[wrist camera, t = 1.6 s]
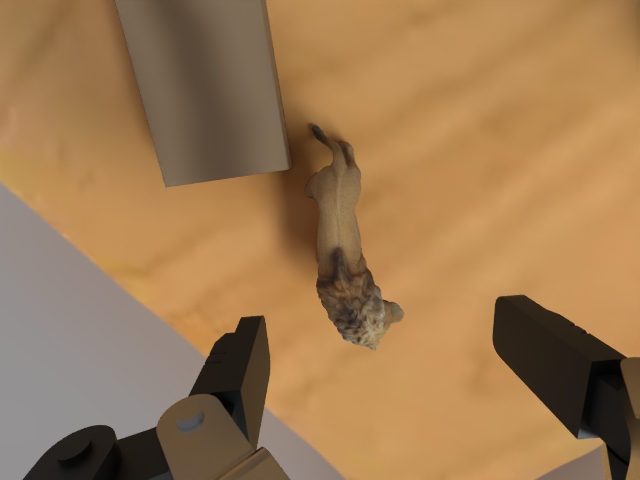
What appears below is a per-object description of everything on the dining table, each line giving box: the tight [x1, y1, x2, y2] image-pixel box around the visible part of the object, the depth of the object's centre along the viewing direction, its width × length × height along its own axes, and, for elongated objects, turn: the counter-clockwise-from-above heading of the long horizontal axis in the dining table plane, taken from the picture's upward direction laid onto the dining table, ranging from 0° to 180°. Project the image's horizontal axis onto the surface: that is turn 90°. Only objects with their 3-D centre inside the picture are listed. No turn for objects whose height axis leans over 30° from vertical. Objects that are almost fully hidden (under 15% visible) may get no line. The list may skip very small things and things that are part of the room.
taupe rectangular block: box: [115, 0, 292, 187], centre depth 21 cm, size 8×14×5 cm, turn 8°
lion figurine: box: [305, 125, 404, 350], centre depth 22 cm, size 15×5×9 cm, turn 15°
